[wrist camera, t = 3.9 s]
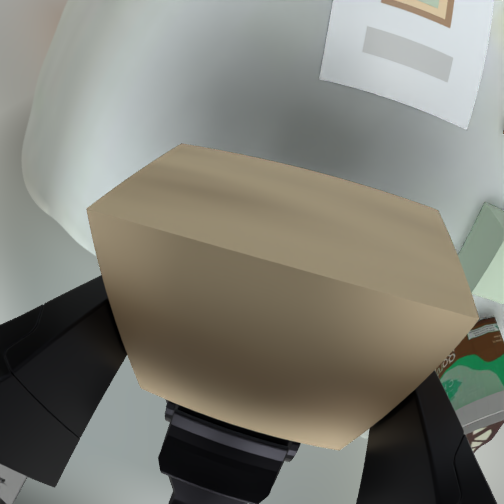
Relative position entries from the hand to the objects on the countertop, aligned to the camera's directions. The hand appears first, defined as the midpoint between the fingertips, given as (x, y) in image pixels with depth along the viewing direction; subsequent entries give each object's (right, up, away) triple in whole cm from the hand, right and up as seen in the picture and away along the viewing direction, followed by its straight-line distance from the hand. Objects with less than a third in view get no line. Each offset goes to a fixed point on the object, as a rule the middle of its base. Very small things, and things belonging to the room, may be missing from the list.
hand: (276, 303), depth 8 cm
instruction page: (+8, +14, +2) cm, 16 cm away
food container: (+18, -8, +15) cm, 25 cm away
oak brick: (0, +1, +1) cm, 1 cm away
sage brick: (+16, +2, +8) cm, 18 cm away
